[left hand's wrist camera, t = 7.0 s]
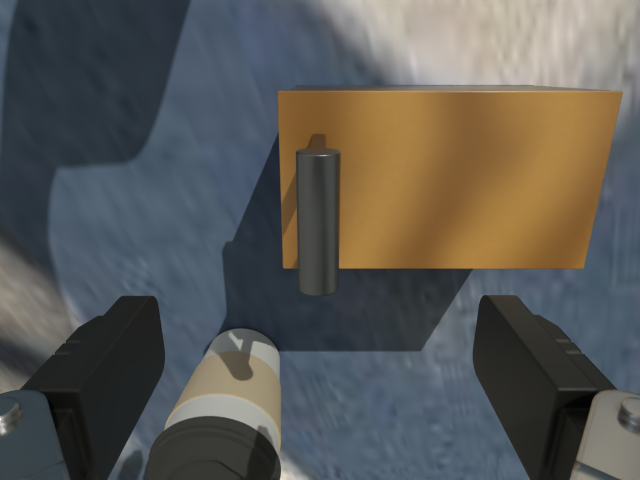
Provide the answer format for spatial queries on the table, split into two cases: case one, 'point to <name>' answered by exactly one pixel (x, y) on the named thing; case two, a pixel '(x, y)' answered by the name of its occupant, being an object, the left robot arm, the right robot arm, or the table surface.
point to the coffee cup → (225, 415)
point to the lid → (439, 179)
